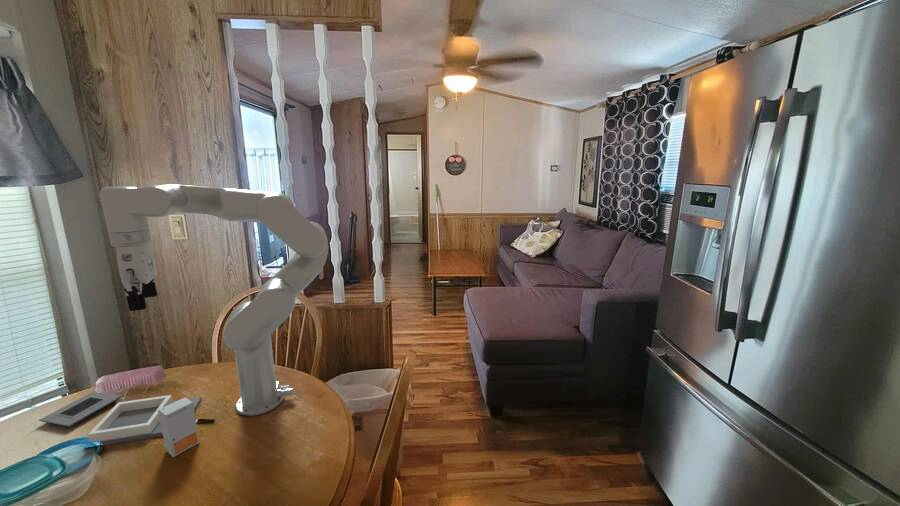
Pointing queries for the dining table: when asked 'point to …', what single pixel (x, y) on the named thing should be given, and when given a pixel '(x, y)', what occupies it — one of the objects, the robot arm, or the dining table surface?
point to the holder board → (133, 420)
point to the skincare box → (178, 426)
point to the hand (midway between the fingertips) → (144, 303)
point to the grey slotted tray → (80, 409)
